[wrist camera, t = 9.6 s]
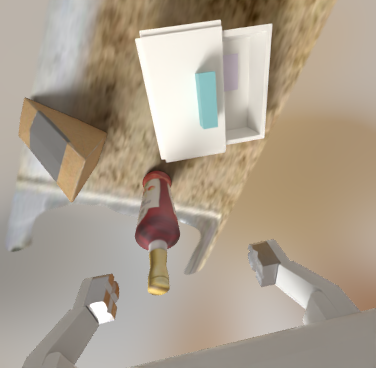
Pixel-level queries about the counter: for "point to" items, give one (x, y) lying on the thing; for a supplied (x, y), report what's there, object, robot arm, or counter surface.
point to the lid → (185, 88)
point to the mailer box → (246, 81)
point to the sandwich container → (61, 145)
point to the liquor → (157, 228)
